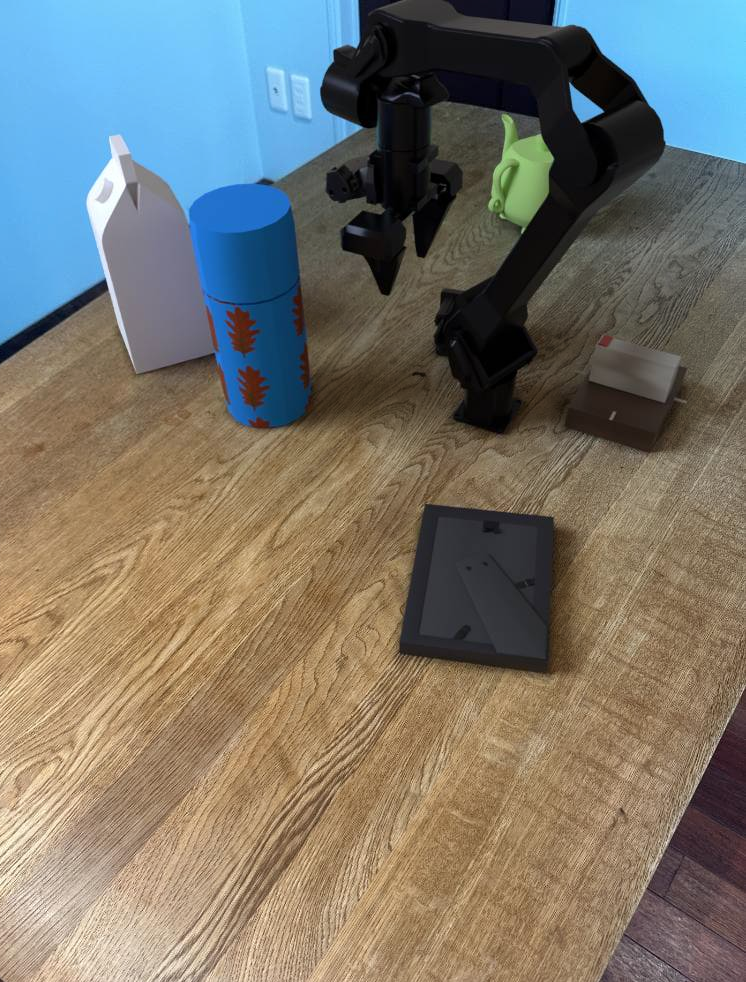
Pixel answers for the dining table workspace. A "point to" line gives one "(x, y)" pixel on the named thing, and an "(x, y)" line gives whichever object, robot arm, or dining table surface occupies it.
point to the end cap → (445, 307)
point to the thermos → (253, 301)
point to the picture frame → (481, 588)
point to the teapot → (520, 177)
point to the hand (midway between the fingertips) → (403, 275)
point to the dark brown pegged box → (620, 413)
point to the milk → (148, 264)
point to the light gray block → (634, 368)
